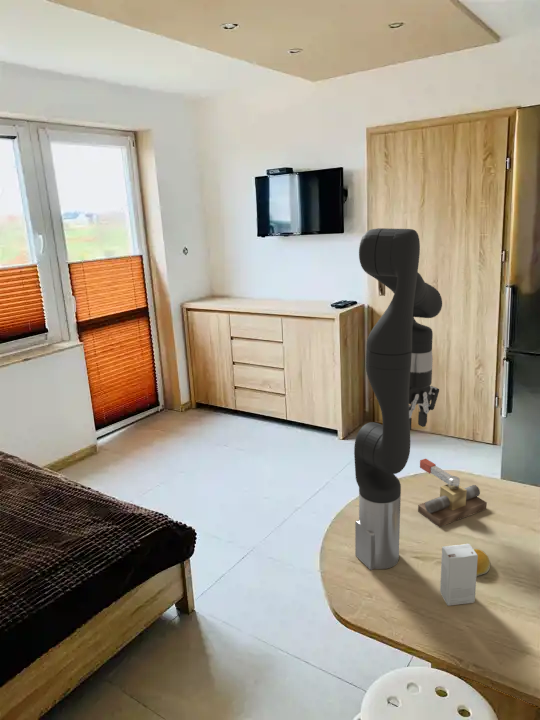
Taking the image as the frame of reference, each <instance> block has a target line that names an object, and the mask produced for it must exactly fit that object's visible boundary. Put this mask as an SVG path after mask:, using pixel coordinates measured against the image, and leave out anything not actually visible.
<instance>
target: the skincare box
mask: <svg viewBox="0 0 540 720" xmlns="http://www.w3.org/2000/svg"><path fill="white" fill-rule="evenodd" d="M460 544H461V545H459V544H454V545H445V546H441V562H440V563H441V567H440V568H441V569H440V584H439V585H440V586H439V587H440V588H439V592H440V594H441V597H442V599H443V601H444V602H445V604H446V606H447V607H448V606H449V607H450V606H456V605H465V604H466V605H467V604H473V603H476V601H475V599H476V588H477V587H476V586H477V577H478V576H477V560H478V555H477V554H476V552H475V551H474V550H473V549H474V548H473V546H472V545H471V544H470V543H460Z"/></svg>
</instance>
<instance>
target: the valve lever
mask: <svg viewBox="0 0 540 720" xmlns="http://www.w3.org/2000/svg"><path fill="white" fill-rule="evenodd" d="M436 465H437V464H436V463H434V462H432V461H431V460H429V459H428V458H423V459H420V461H419V468H420V469H422V470H423V471H425V472H426V473H428V474H431V475H433V476H435V477H436V478H437V479H439V480H441V481H443V483H445V484H446V485H447V484H448V487H449V488H451V489H458V488H459V486H460V482H461V479H460V478H459V477H458V476H453V475H451V474H450V473H448V472H447V471H445V470H443V469H441V468H440V467H439V466H436Z"/></svg>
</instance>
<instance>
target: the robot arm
mask: <svg viewBox="0 0 540 720" xmlns="http://www.w3.org/2000/svg"><path fill="white" fill-rule="evenodd" d="M420 251H421V243H420V235H419V234H418V232H417V231H416V230H415V229H412V228H381V227H380V228H371V229H369V230H367V231H366V232H365V233H363V236H362V237H361V239H360V243H359V247H358V259H359V263H360V267H361V269H362V270H363V271H364V273H366V274H367V275H369V276H370V277H372V278H374V279H375V280H377V281H378V282H380V283H381V284H383V285H384V286H385V287H387V288H388V289H389V290H391V292H392V293H393V297H392V299H391V301H390V303H389V305H388V306H387V308H386V310H385V311H384V313H383V314H382V315H381V316H380V318H379V319H378V320H377V321H376V323H375V325H374V326H373V328H372V329H371V331H370V332H369V334H368V337H367V339H366V348H365V350H366V351H365V371H366V375H367V379H368V381H369V384H370V387H371V389H372V391H373V393H374V396H375V397H376V400H377V402H378V405H379V407H380V412H381V415H382V416H381V417H382V424H381V423H378V422H373V421H372V422H371V421H370V422H367V423H365V424H364V425H362V427H361V428H360V429H359V430H358V432H357V435H356V436H355V441H354V447H353V449H354V450H353V452H354V453H353V454H354V466H355V467H354V469H355V470H354V471H355V473H354V474H355V481H356V484H357V485H358V486H357V487H358V520H355V524H354V525H355V526H354V527H355V529H354V530H355V534H354V535H355V539H354V540H355V543H354V544H355V545H354V546H355V549H354V550H355V554H354V555H355V556H356V557H357V559H358V560H360V562H362V564H363V565H365V566H366V568H368V569H369V570H374V569H375V570H376V569H377V570H385V569H390V568H394V566H396V565H397V564H398V562H399V558H400V529H401V527H400V526H401V525H400V523H401V501H402V500H401V496H402V486H401V485H402V484H401V481H400V480H399V478H398V477H397V476H396V475H397V474H399V473H401V472H402V471H403V470H404V468H405V467H406V465H407V463H408V460H409V457H410V452H411V431H412V419H413V418H412V414H413V412H414V411H415V409H416V407H418V410H419V411H418V415H417V416H418V420H417V424H418V426H420V427H422V428H424V427H426V425H427V423H428V414H429V412H430V411H433V410H435V406H436V403H437V399H438V396H439V392H440V389H439V388H437V387H435V386H433V385H432V379H433V360H434V359H433V339H434V338H433V337H434V336H433V334H434V333H433V329H432V328H431V327H430V326H427V325H424V324H423V323H422V324H421V323H419V322H417V321H416V319H415V318H420V319H421V318H423V319H433V318H435V317H436V316H438V315H439V314H440V312H441V311H442V307H443V298H442V296H441V293H440V292H439V291H438V289H437V288H435V287H434V286H432V285H430V284H429V283H427V282H425V280H424V278H423V277H422V275H421V274H420V273H419V264H420V255H421V253H420ZM417 405H418V406H417Z"/></svg>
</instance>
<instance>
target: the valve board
mask: <svg viewBox="0 0 540 720" xmlns="http://www.w3.org/2000/svg"><path fill="white" fill-rule="evenodd" d="M480 495H481V490H480V488H479V486H478V485H476V484H472V485H469V486H466V487H462V486H461V485H459V488H458V489H451V488H449V487H448V484H447V483H446V484H444V485H441V486H440V488H439V497H436V498H434V499H433V498H432V499H430V500H427V501H424V502H422V503H420V504H417V505H418V508H417V512H418V513H419V514H421V515H423V516H424V517H425V518H426V519H427V520H429V521H430V522H432V524H435V525H436V526H437V527H439V528H440V527H444V526H447V525H448V524H450V523H453V522H456V521H458V520H461V519H464V518H467V517H470V516H472V515H474V514H478V513H480V512H482V511H485V510H487V503H488V502H487V501H485V500H483V499H482V498H481V497H479V496H480Z"/></svg>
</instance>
